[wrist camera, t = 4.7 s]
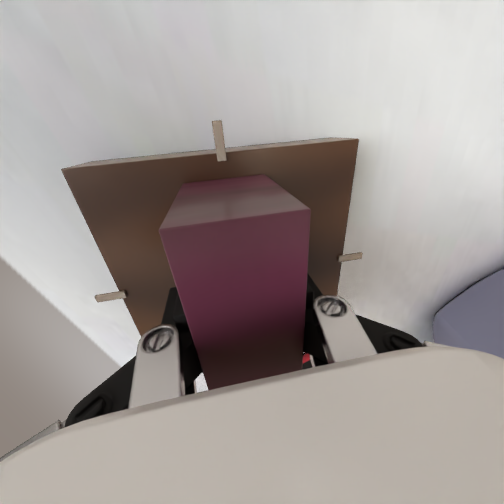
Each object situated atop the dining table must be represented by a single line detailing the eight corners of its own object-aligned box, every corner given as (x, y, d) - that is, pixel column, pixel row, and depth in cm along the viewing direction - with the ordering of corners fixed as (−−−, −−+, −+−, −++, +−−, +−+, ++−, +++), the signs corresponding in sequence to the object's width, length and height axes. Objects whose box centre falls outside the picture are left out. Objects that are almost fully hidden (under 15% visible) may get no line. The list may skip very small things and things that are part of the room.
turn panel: (53, 137, 10) (5, 138, 7) (353, 111, 11) (391, 105, 9) (151, 348, 17) (142, 382, 14) (328, 314, 18) (345, 340, 16)
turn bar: (182, 183, 9) (155, 234, 5) (264, 173, 9) (316, 212, 5) (219, 343, 14) (223, 445, 9) (272, 333, 14) (301, 426, 10)
